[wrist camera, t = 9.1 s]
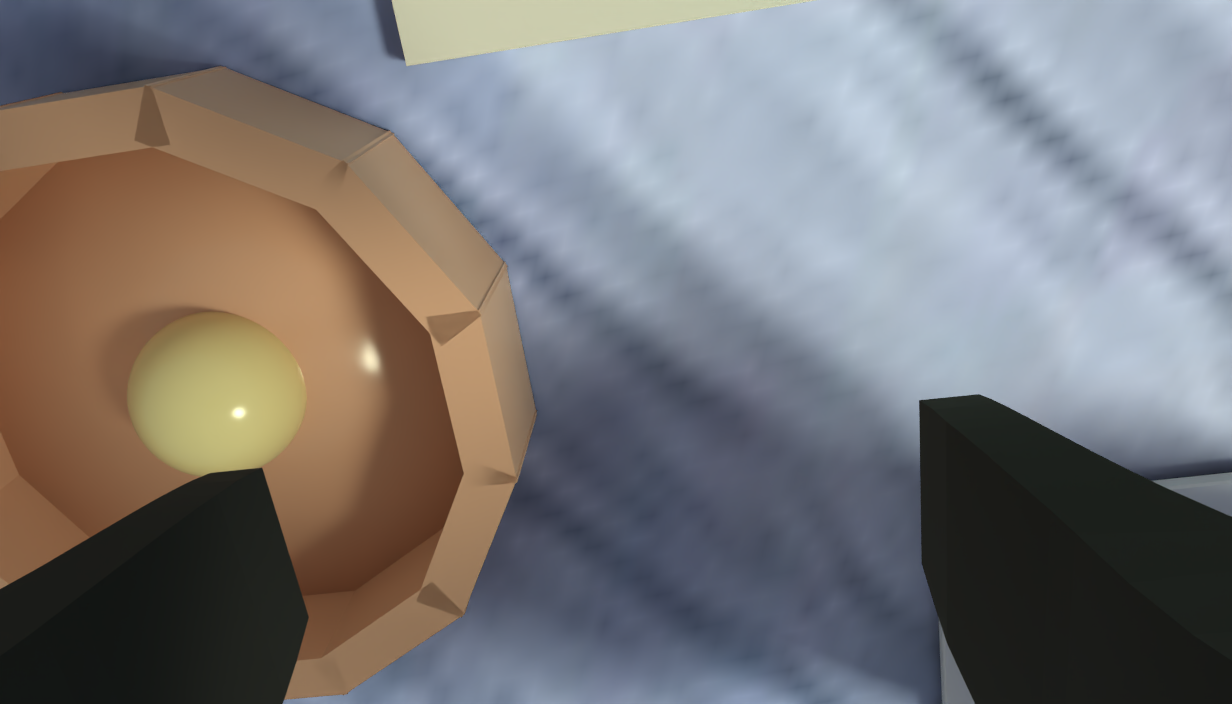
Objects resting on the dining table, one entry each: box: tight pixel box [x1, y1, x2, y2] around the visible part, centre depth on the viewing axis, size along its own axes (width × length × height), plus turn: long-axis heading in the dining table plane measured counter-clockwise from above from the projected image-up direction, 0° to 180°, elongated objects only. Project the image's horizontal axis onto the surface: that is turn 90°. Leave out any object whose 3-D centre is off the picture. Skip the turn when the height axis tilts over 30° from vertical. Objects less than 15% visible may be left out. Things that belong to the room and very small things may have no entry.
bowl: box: [0, 66, 537, 700], centre depth 21 cm, size 13×13×4 cm
